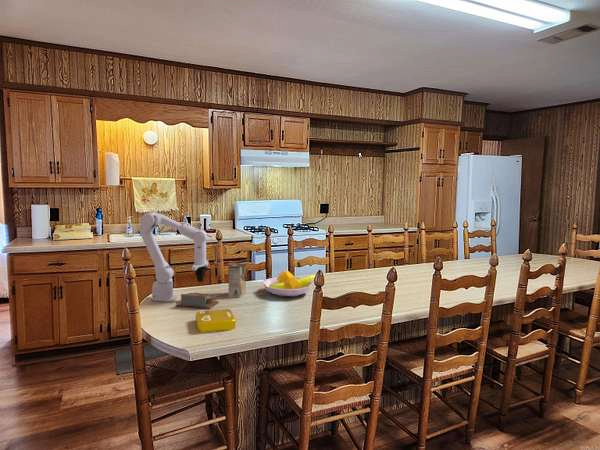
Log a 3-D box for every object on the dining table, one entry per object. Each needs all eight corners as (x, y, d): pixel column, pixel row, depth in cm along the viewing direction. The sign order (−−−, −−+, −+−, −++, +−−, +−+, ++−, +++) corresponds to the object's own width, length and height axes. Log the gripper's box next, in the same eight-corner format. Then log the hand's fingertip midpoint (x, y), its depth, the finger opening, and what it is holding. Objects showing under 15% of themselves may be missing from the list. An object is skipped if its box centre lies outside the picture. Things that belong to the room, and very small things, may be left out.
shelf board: (176, 306, 188) (176, 304, 188) (185, 300, 198) (185, 298, 198) (210, 309, 185) (210, 307, 185) (218, 302, 195) (218, 301, 195)
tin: (217, 295, 196) (208, 298, 188) (216, 301, 196) (208, 305, 188) (189, 292, 200) (180, 295, 191) (189, 298, 200) (180, 301, 192)
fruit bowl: (255, 297, 205) (256, 276, 203) (273, 284, 231) (273, 265, 229) (308, 303, 197) (309, 281, 196) (320, 289, 223) (321, 269, 222)
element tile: (236, 330, 162) (236, 319, 162) (198, 334, 157) (198, 322, 157) (230, 317, 176) (230, 307, 176) (195, 321, 171) (195, 310, 171)
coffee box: (234, 292, 214) (234, 262, 212) (245, 293, 212) (246, 263, 211) (228, 297, 205) (228, 266, 203) (239, 298, 204) (240, 267, 202)
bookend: (181, 307, 188) (181, 294, 187) (182, 306, 189) (182, 293, 188) (205, 309, 185) (205, 296, 185) (206, 308, 187) (206, 295, 186)
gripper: (201, 258, 188) (201, 286, 190) (213, 252, 202) (213, 278, 204) (187, 257, 190) (187, 284, 191) (201, 251, 204) (201, 277, 205)
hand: (200, 281), depth 198 cm, fingers closed
